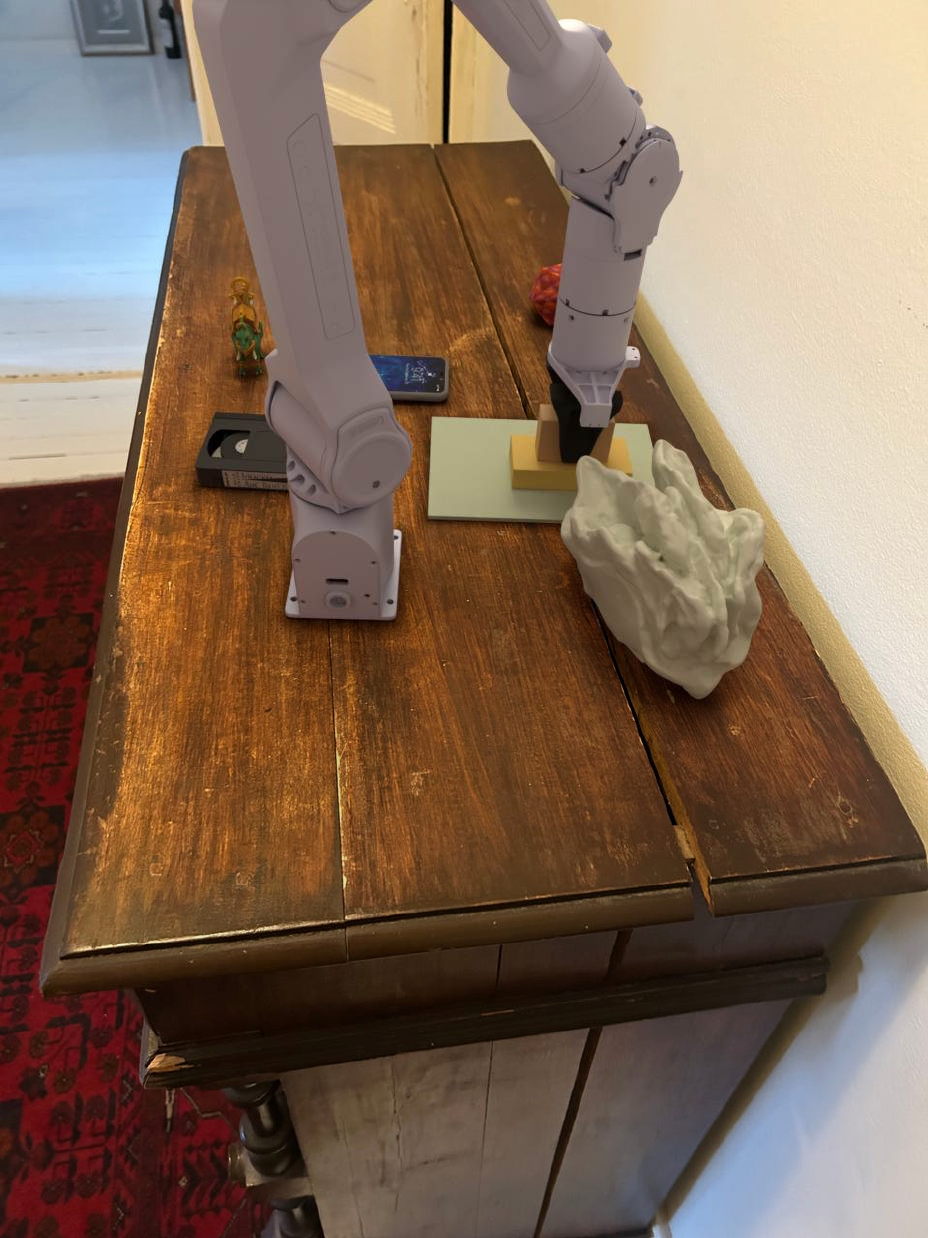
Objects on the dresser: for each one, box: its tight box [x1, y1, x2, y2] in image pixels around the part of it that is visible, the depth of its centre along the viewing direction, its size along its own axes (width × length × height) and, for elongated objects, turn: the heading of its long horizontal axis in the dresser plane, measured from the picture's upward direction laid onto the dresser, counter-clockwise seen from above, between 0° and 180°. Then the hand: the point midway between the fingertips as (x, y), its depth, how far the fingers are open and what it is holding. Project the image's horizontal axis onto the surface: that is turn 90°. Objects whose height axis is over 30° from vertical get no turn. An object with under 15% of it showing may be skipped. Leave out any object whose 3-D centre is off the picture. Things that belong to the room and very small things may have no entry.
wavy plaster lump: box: [560, 439, 767, 700], centre depth 60 cm, size 18×13×16 cm
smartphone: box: [368, 353, 450, 402], centre depth 84 cm, size 7×1×15 cm
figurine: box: [228, 276, 264, 376], centre depth 83 cm, size 3×12×8 cm, turn 9°
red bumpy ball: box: [528, 262, 562, 327], centre depth 92 cm, size 6×7×8 cm
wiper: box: [509, 403, 633, 490], centre depth 73 cm, size 5×10×6 cm, turn 90°
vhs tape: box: [194, 411, 289, 492], centre depth 74 cm, size 14×8×2 cm, turn 88°
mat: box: [427, 416, 655, 524], centre depth 76 cm, size 14×20×1 cm
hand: (571, 449), depth 73 cm, fingers closed on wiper, 2 cm apart
